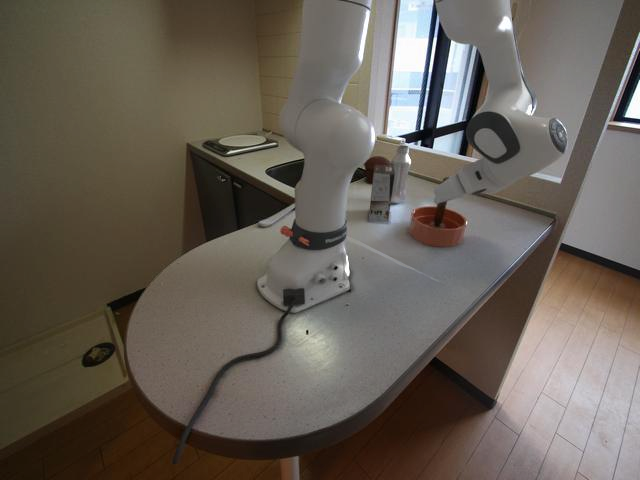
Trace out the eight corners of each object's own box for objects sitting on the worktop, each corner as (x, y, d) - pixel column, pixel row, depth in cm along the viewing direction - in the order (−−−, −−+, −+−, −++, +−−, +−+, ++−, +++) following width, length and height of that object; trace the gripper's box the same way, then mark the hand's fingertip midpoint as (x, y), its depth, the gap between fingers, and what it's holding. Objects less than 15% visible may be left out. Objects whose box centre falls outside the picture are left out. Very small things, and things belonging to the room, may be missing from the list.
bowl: (446, 255, 85) (451, 235, 82) (398, 234, 94) (401, 216, 91) (470, 236, 94) (475, 218, 91) (424, 219, 103) (428, 202, 100)
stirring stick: (438, 238, 91) (452, 181, 82) (424, 233, 94) (436, 177, 85) (445, 233, 94) (459, 177, 85) (432, 228, 97) (444, 173, 88)
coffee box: (388, 223, 100) (395, 174, 92) (368, 221, 101) (373, 172, 93) (388, 211, 108) (395, 165, 100) (369, 209, 109) (374, 163, 101)
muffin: (359, 183, 131) (361, 159, 126) (365, 174, 140) (368, 152, 135) (388, 187, 128) (391, 162, 123) (392, 178, 137) (395, 155, 132)
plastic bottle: (408, 203, 114) (418, 147, 104) (395, 207, 111) (403, 150, 101) (395, 197, 119) (403, 143, 109) (382, 201, 116) (389, 145, 105)
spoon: (318, 190, 123) (317, 184, 122) (334, 194, 119) (334, 188, 118) (251, 227, 99) (250, 219, 98) (270, 234, 95) (269, 226, 94)
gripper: (512, 156, 79) (469, 181, 91) (456, 168, 70) (416, 194, 83) (523, 179, 78) (478, 201, 90) (467, 193, 69) (426, 216, 81)
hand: (448, 198), depth 86 cm, fingers open, 8 cm apart
